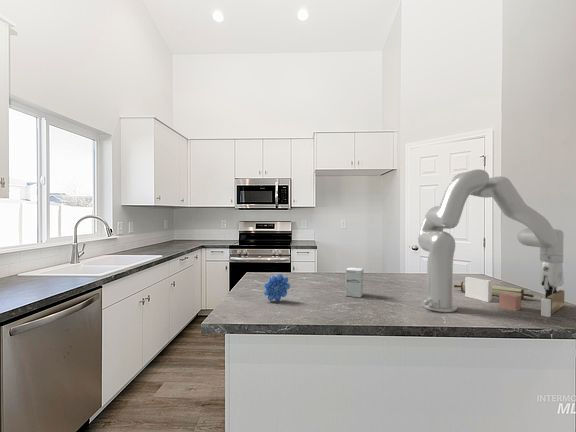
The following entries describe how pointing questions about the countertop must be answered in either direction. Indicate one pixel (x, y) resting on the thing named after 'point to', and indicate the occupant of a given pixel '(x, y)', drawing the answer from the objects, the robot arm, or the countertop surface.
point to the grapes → (276, 287)
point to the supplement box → (354, 282)
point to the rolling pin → (501, 290)
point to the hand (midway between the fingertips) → (550, 302)
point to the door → (556, 300)
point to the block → (510, 301)
